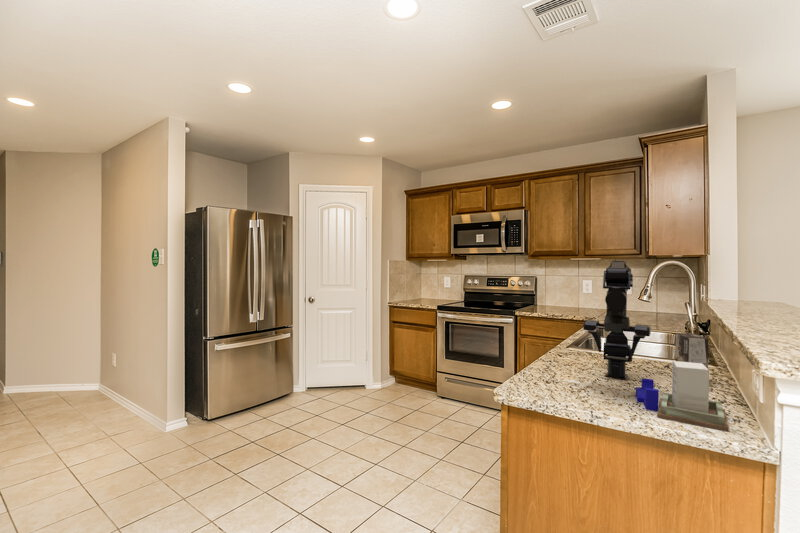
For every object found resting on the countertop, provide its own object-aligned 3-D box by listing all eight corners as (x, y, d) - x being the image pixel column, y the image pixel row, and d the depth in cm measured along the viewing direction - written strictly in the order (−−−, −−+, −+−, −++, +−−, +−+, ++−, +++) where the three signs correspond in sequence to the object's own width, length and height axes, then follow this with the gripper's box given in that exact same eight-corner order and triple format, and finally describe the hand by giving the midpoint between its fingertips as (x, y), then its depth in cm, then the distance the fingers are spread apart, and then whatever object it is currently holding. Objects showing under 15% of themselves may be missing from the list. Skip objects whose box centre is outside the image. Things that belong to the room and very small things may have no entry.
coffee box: (708, 385, 136) (709, 338, 135) (687, 384, 137) (688, 337, 136) (694, 377, 145) (694, 333, 144) (674, 376, 146) (675, 332, 145)
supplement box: (702, 407, 113) (703, 363, 113) (708, 416, 106) (709, 369, 106) (671, 403, 116) (672, 359, 116) (675, 411, 110) (676, 366, 109)
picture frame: (660, 401, 120) (660, 391, 120) (724, 412, 112) (724, 402, 112) (657, 417, 108) (657, 406, 108) (728, 431, 100) (728, 419, 99)
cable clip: (635, 396, 125) (636, 377, 125) (652, 398, 123) (652, 379, 123) (639, 409, 115) (640, 388, 114) (658, 412, 113) (658, 391, 112)
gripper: (579, 306, 128) (579, 354, 128) (648, 311, 117) (647, 364, 118) (587, 303, 137) (586, 348, 138) (651, 307, 126) (650, 356, 127)
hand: (615, 354), depth 130 cm, fingers open, 9 cm apart
